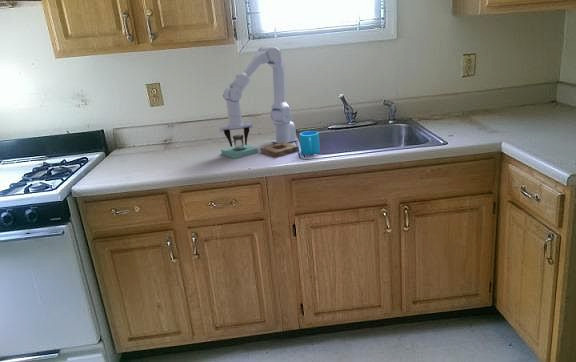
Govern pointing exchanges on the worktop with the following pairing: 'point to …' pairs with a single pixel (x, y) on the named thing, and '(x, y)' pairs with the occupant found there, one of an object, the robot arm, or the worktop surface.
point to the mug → (309, 142)
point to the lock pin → (238, 142)
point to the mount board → (279, 149)
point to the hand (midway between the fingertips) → (238, 145)
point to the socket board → (236, 154)
